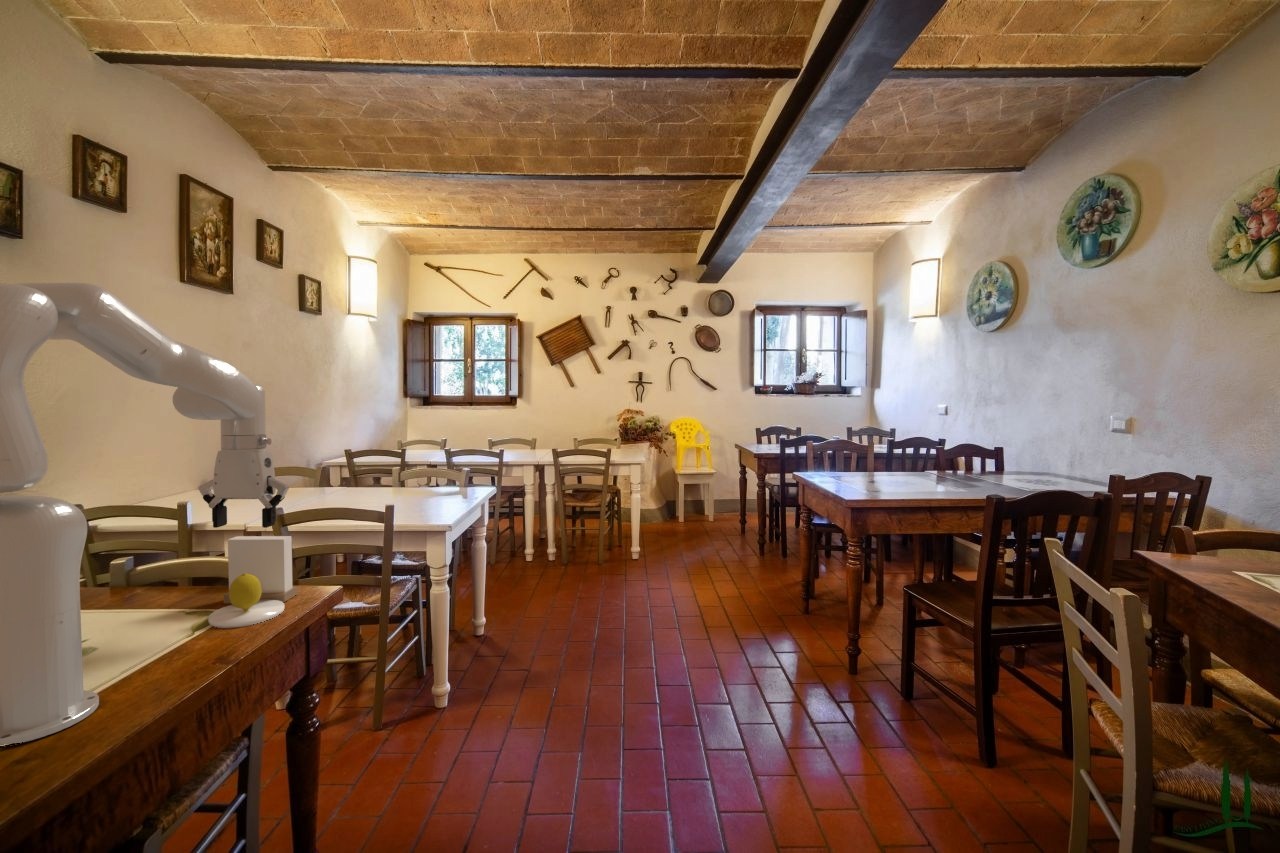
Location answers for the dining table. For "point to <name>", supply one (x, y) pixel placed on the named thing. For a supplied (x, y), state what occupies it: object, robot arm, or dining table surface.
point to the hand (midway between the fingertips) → (244, 526)
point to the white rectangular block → (263, 564)
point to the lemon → (245, 591)
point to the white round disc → (246, 614)
